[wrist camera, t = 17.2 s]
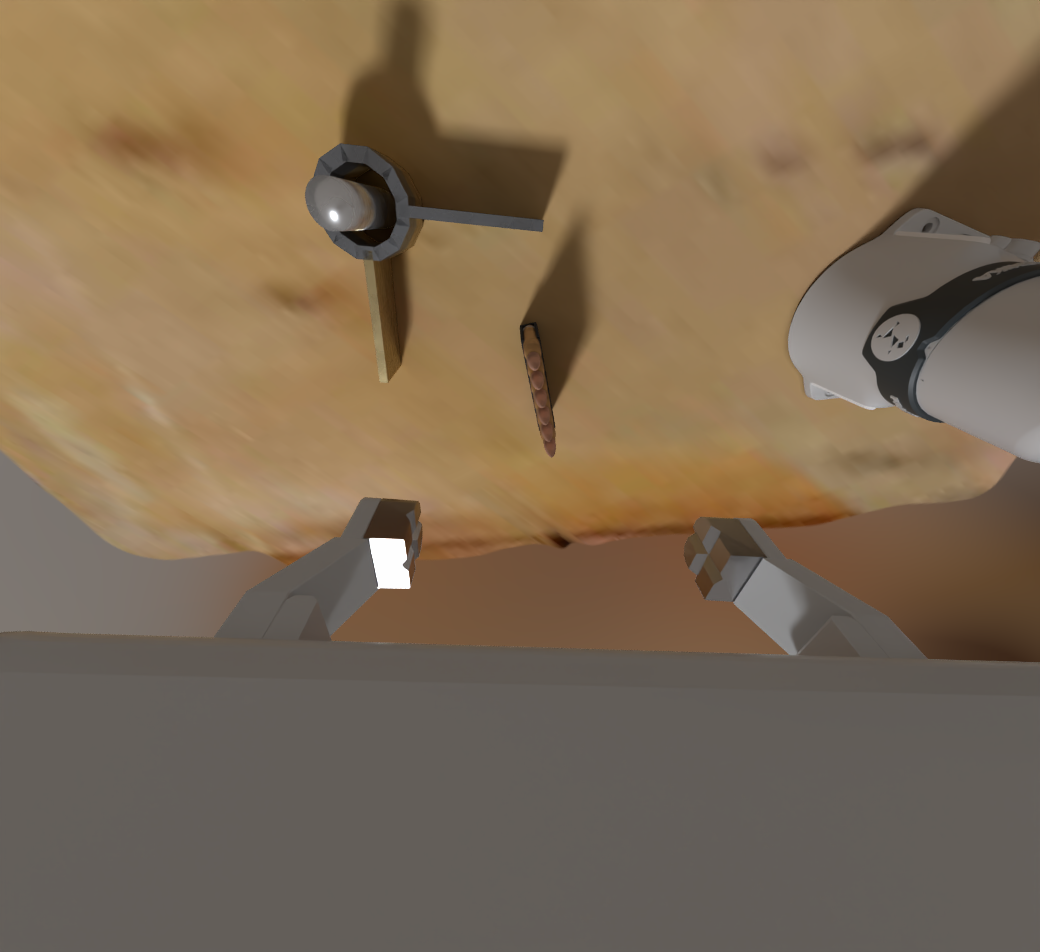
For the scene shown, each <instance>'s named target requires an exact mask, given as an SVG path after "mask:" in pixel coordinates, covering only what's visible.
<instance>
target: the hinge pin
mask: <svg viewBox="0 0 1040 952" xmlns="http://www.w3.org/2000/svg"><path fill="white" fill-rule="evenodd" d="M305 199H306V204H307V207H308V210H309V212H310V214H311V216H312V217H313V218H314V220H315V221H316V222H317V223H318V224H319V225H320V226H322V227H323V228H325V229H327V230H329V231H334V232H339V231H354V230H370V229H385V228H391V227H392V226H394V225H395V224H396V222H397V216H396V204H395V198H394V196H393V195H392V194H391V193H390V192H388V191H387V190H385V189H382V188H378V187H374V186H369V185H365V184H361V183H357V182H353V181H349V180H345V179H341V178H337V177H332V176H328V175H317V176H315V177H313V178H312V179H311V180H310V181H309V183H308V184H307V187H306V192H305Z"/></svg>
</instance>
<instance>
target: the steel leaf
mask: <svg viewBox="0 0 1040 952" xmlns="http://www.w3.org/2000/svg"><path fill="white" fill-rule="evenodd" d="M358 166H365V167H371V168H372V169H373V170H374V171H376V172H377V173H378V174H380V175H381V176H382V177H383V178H384V179H385V181H386V183H387V185H388V187H389V188H390V190H391V192H392V194H393V196H394V198H395V204H396V216H397V222H396V225H395V227H394V229H393V232H392V234H391V236H390V239H388V240H386V241H385V242H383V243H381V244H380V245H378V244H368V243H367V242H365V241H364V240H363V239H361V238H360V237H358V236H357V235H355V234H354V233H353V232H352V231H339V232H334V231H329V230H327V229H325V228H324V229H325V231H326V232H327V234H328V235H329V237H330V238H331V240H332V241H333V243H334V244H336V245H337V246H339V247H340V248H341V249H343V250H344V251H346V252H347V253H349V254H350V255H352V256H353V257H355V258H356V259H364V258H363V257H365V256H366V257H367V256H368V257H367V259H368V258H369V257H370V255H368V254H369V252H371V251H372V253H371V255H373V257H372V256H371V258H373V259H372V260H374V261H382V260H385V259H388V258H390V257H392V256H394V255H395V254H397V253H399V252H400V251H402V250H404V249H406V248H407V247H408V244H409V242H410V240H411V238H412V235H413V233H414V231H415V229H416V227H417V221H416V218H417V219H426V220H435V221H445V222H454V223H464V224H473V225H483V226H492V227H501V228H511V229H520V230H530V231H539V232H542V231H543V221H544V220H537V219H528V218H519V217H510V216H500V215H491V214H482V213H473V212H463V211H454V210H445V209H436V208H427V207H417V206H416V204H415V197H414V195H413V193H412V191H411V189H410V187H409V185H408V183H407V181H406V179H405V177H404V175H403V173H402V171H401V170H400V169H399V168H398V167H396V166H395V165H394V164H393V163H391V162H390V161H389V160H388V159H386V158H385V157H384V156H383V155H381V154H380V153H379V152H377V151H375V150H373V149H371V148H369V147H366V146H357V145H349V144H339V145H337V146H336V147H334V148H333V149H332V150H330V151H329V152H327V153H326V154H324V155H323V156H322V157H320V158H319V160H318V164H317V167H316V170H315V174H314V177H315V176H317V175H328V176H332V177H337V178H341V179H343V178H344V176H345V175H346V174H347V173H349V172H350V171H352V170H353V169H355V168H356V167H358ZM365 250H367V251H365ZM364 251H365V253H364V254H363V252H364ZM368 251H369V252H368ZM366 253H367V255H365V254H366ZM366 257H365V259H364V260H367V259H366Z"/></svg>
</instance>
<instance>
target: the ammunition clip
mask: <svg viewBox="0 0 1040 952" xmlns="http://www.w3.org/2000/svg"><path fill="white" fill-rule="evenodd" d="M520 335H521V343H522V348H523V353H524V358H525V363H526V368H527V373H528V378H529V383H530V388H531V393H532V397H533V402H534V407H535V412H536V417H537V422H538V427H539V431H540V435H541V438H542V440H543V443H544V447H545V450H546V452H547V454H548V455H549V456H550V457H553V456H554V454H555V450H556V444H555V436H556V433H555V422H554V417H553V411H552V405H551V399H550V394H549V388H548V382H547V376H546V371H545V365H544V359H543V353H542V348H541V342H540V336H539V332H538V328H537V324H536V322H534V323H530V324H525V325H521V326H520Z"/></svg>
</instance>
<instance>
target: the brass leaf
mask: <svg viewBox="0 0 1040 952" xmlns="http://www.w3.org/2000/svg"><path fill="white" fill-rule="evenodd" d="M380 154H381V153H380ZM381 155H383V154H381ZM383 156H384V157H385V158H386V159H388V160H389V161H390V162H391V163H393V164H394V165H395V166H396V167H398V168H399V169H400V170H401V171H402V173H403V175H404V177H405V179H406V181H407V183H408V185H409V187H410V189H411V191H412V193H413V195H414V197H415V204H416V206H417V207H422V199H421V197H420V195H419V193H418V191H417V189H416V187H415V185H414V183H413V181H412V179H411V177H410V175H409V173H407V172H406V171H405V170H404V169H402V168H401V167H400V166H399V165H397V164H396V163H395V162H394V161H392V160H391V159H390V158H389V157H387V156H385V155H383ZM368 170H373V169H372V168H371V167H365V166H358V167H356V168H355V169H353V170H352V171H350V172H349V173H347V174H346V175H345V176H344V178H343V179H345V180H349V181H353V182H355V180H356V178H357V177H359V176H360V175H362V174H363V173H365V172H366V171H368ZM416 221H417V227H416V229H415V231H414V233H413V235H412V238H411V240H410V242H409V244H408V247H407V248H406V249H404V250H402V251H400V252H399V253H397V254H395V255H394V256H392V257H395V256H397V255H399V254H401V253H402V252H404V251H406V250H407V249H409V248H411V247H412V246H414V244H415V242H416V240H417V237H418V235H419V233H420V231H421V229H422V227H423V219H417V218H416ZM352 232H353V233H354V234H355V235H357V236H358V237H360V238H361V239H363V240H364V241H365V242H367V243H368V244H378V245H380V244H381V243H382V242H377V241H375V240H374V239H373V238H371V237H370V236H368V235H367V234H366V233H364V232H363V231H362V230H354V231H352ZM365 251H367V250H365ZM365 251H364V252H363V254H364V253H365ZM368 252H369V251H368ZM371 253H372V251H371V252H369V254H368V255H370V257H369V258H368V259H367V257H368V256H367V257H366V256H365V257H366V259H367V260H364V266H365V274H366V281H367V289H368V296H369V304H370V311H371V319H372V327H373V334H374V342H375V349H376V357H377V364H378V372H379V379H380V382H384V383H388V382H389V381H390V379H391V378H392V377H393V375H394V374H395V373H396V371H397V370H398V369H399V367H400V366H401V359H400V349H399V338H398V328H397V317H396V307H395V297H394V286H393V276H392V265H391V258H392V257H390V258H388V259H385V260H382V261H374V260H372V259H373V258H371V256H372V257H373V255H371ZM365 255H367V253H366V254H365ZM365 257H363V258H364V259H365Z"/></svg>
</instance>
